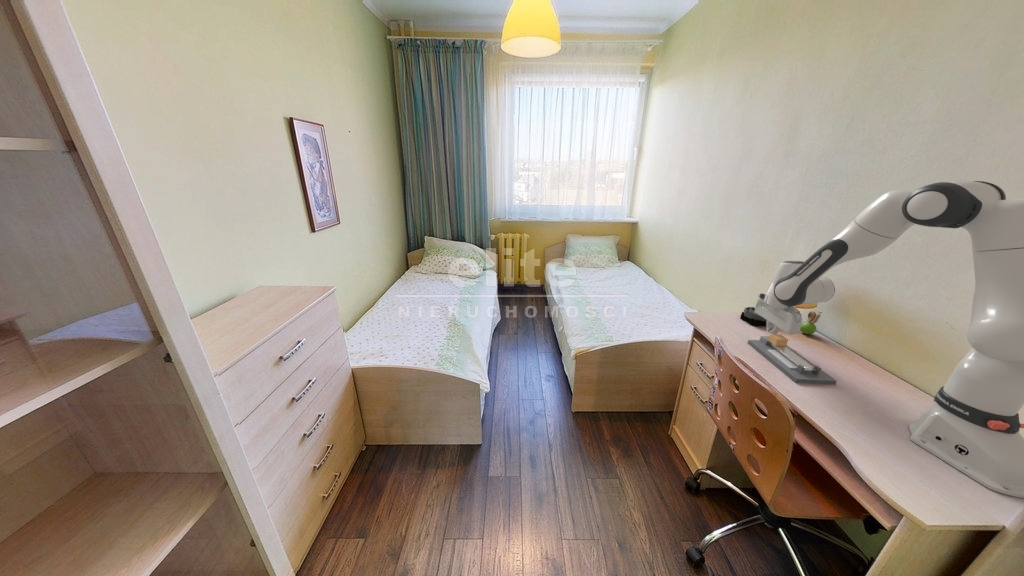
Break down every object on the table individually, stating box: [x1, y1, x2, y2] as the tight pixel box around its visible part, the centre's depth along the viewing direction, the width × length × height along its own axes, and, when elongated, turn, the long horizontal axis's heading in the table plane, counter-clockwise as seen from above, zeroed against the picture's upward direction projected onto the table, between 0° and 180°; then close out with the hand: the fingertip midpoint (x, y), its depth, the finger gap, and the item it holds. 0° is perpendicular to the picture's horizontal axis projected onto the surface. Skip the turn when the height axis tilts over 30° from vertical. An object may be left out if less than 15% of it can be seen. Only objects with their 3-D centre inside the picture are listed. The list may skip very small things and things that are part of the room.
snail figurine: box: [799, 311, 823, 335], centre depth 140 cm, size 5×6×12 cm
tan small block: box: [768, 333, 789, 346], centre depth 126 cm, size 4×4×3 cm
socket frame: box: [747, 335, 838, 385], centre depth 121 cm, size 26×13×4 cm, turn 177°
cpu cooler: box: [739, 306, 767, 327], centre depth 151 cm, size 10×6×10 cm
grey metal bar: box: [772, 344, 816, 371], centre depth 119 cm, size 17×4×1 cm, turn 177°
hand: (770, 333), depth 130 cm, fingers closed
